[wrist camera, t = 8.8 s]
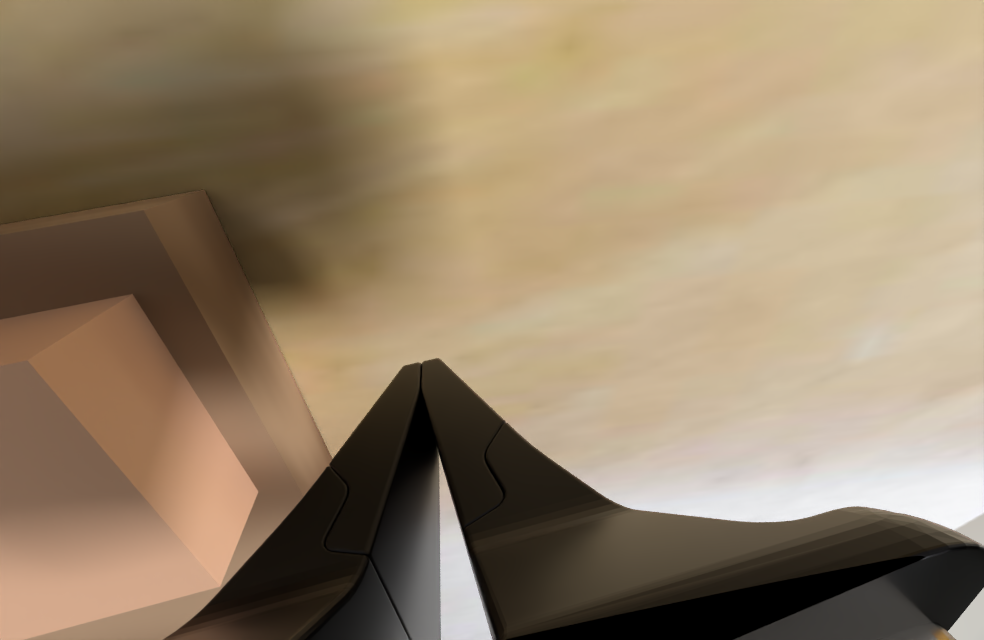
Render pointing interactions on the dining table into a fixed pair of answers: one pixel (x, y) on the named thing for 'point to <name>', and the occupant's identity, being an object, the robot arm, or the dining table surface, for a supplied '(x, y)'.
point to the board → (178, 352)
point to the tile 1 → (106, 472)
